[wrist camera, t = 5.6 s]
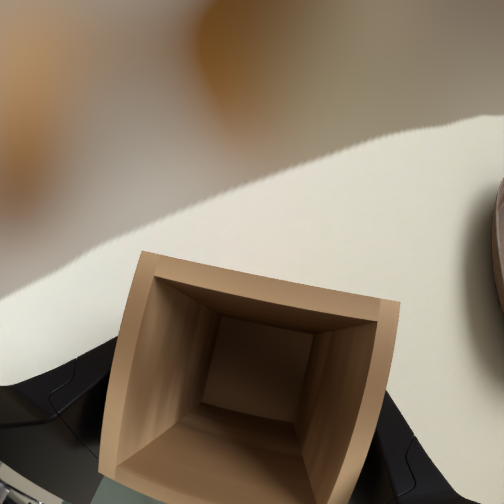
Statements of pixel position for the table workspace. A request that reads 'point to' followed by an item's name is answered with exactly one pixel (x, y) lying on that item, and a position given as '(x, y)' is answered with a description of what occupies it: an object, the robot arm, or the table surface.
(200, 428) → the wooden pen holder
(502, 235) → the plant saucer
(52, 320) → the table surface
